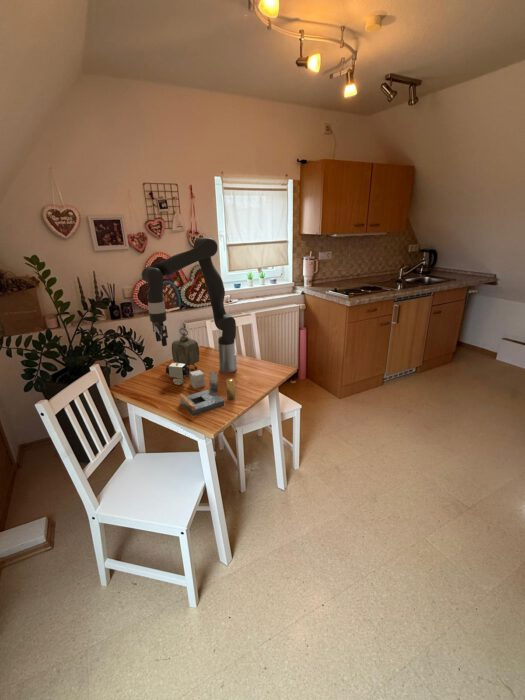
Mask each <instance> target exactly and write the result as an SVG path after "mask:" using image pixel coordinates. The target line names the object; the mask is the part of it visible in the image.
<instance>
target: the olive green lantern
mask: <svg viewBox="0 0 525 700" xmlns="http://www.w3.org/2000/svg"><path fill="white" fill-rule="evenodd" d="M182 330H183V331H185V332H186V333H185V332H183V333H182V332H181V331H182ZM179 333H180V335H182V336H180V339H176V340H173V341H172V343H171V355H172V359H173V363H182V364H187V366H188V367H189V366H193V367H194V369H195V370H197V369H198V366H196V365H195V364H196V363H199V362H200V347H199V342H198V341H196V340H195V339H192V338H189V337H188V335H189V331H188V330H187V329H186V328H183V327H181V328H179Z"/></svg>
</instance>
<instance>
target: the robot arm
mask: <svg viewBox="0 0 525 700" xmlns="http://www.w3.org/2000/svg"><path fill="white" fill-rule="evenodd" d="M218 249H219V246H218V243H217V242H216V240H214V239H213V238H211V237H199V238H196V239H195V240H194V243H193V248H191V249H189V250H187V251H183V252H180V253H177V254H174V255H172V256H169V257H168V258H165V259H164V260H163V261H160V262H156V263H154V264H151V265H149V266H147V267H145V268H144V269H143V270H142V272H141V279H143V281H145V282H146V283H148V289H147V290H146V297H147V308H148V315H149V321H150V322H151V323H152V324H151V325H152V331H153V333H154V335H155V341H156V342H161V346H162V347H166V346H168V343H167V342H168V341H167V339H168V338H169V336H168V330H167V325H165V324H164V322H166V321H167V319H168V318H167V312H166V305H165V301H164V293H163V290H164V276H165V277H166V276H171V275H173V274H175V273H177V272H179V271H181V270H182V269H185V268H187V267H188V266H190V265H192V264H194V263H197V262H198V264H199V266H200V269H201V273H202V277H203V279H204V280H203V281H204V284H205V287H206V292H207V296H208V298H209V303H210V305H211V310H212V314H213V321H214V325H215V327H216V328H217V330H219V331H221V336H219V337H218V340H217V341H218V361H219V372H221V373H223V374H229V373H233V372H235V371H236V370H237V369H238V368H237V367H238V366H237V354H236V348H235V346H236V343H235V339H236V336H237V331H236V330H237V322H236V319H235V318H234V316H231V315H228V314H227V313H226V309H225V306H224V303H225V301H224V300H225V295H226V291H225V286H224V282H223V279H222V277H221V275H220V273H219V272H218V270H217V269H216V267H215V266H214V263H213V261H212V257H214V256H215V255H216V253H217V252H218Z"/></svg>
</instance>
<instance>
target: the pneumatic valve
mask: <svg viewBox="0 0 525 700" xmlns="http://www.w3.org/2000/svg"><path fill="white" fill-rule="evenodd" d="M189 372H191V371H190V367H189V366H187V364H182V363H176V362H171V363H170V364H168V365H167V366H166V367H165V373H166V374H167V375H168V378H173V380H172V381H173V383H174V385H176V386H177V385H178V386H181V385H182V384H184V383H185V378H186V377H187V376H190V373H189Z"/></svg>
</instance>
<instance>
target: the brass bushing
mask: <svg viewBox="0 0 525 700" xmlns="http://www.w3.org/2000/svg"><path fill="white" fill-rule="evenodd" d="M225 382H226V384H225V385H226V400H227V401H229V402H231V401H235V400H236V384H235V383H236V381H235V379H234V378H227V379H226V380H225Z"/></svg>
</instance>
